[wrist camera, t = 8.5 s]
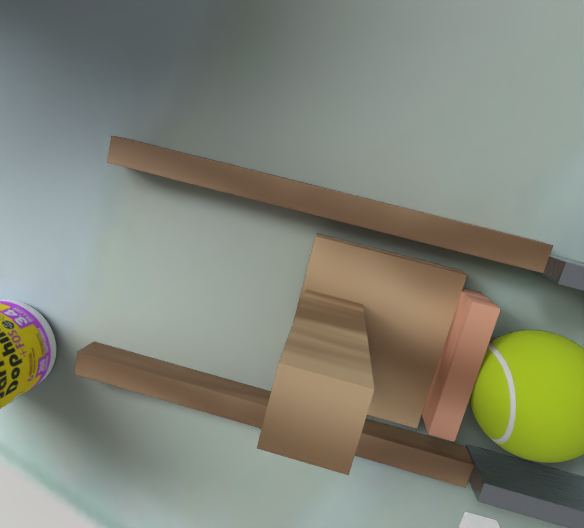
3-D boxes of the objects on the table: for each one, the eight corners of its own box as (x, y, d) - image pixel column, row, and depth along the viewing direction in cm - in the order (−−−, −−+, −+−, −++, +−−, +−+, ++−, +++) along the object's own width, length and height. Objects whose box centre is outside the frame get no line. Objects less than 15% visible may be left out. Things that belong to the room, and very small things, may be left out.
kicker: (317, 233, 28) (293, 274, 16) (485, 276, 28) (602, 356, 15) (279, 379, 30) (231, 520, 18) (436, 423, 30) (503, 603, 17)
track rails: (127, 138, 29) (111, 135, 27) (538, 241, 27) (553, 245, 25) (90, 362, 32) (73, 374, 30) (457, 467, 30) (465, 487, 28)
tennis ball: (579, 317, 28) (654, 361, 21) (565, 424, 29) (632, 498, 22) (460, 312, 29) (495, 353, 22) (451, 416, 30) (482, 485, 23)
